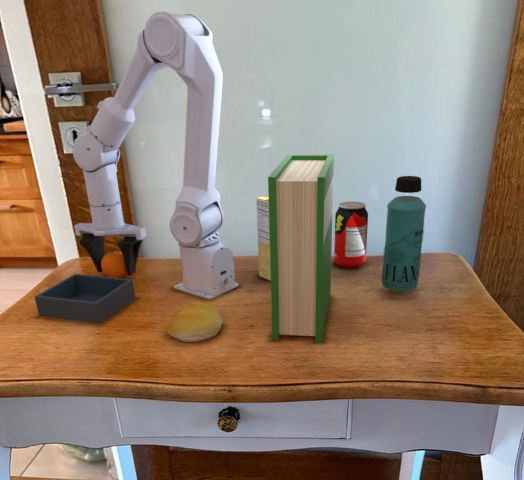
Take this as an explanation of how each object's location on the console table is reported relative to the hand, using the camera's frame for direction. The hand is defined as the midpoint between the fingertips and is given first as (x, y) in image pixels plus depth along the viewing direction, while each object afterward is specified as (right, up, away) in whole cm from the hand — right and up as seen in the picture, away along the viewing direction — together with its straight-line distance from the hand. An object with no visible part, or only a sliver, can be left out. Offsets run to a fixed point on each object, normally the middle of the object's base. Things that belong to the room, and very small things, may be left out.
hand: (116, 272), depth 109 cm
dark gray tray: (-2, -8, -12) cm, 15 cm away
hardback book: (+36, -10, -19) cm, 41 cm away
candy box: (+33, -1, -1) cm, 33 cm away
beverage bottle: (+53, -5, -11) cm, 55 cm away
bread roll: (+18, -12, -22) cm, 31 cm away
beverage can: (+47, +2, +3) cm, 47 cm away
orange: (0, -1, +1) cm, 1 cm away
